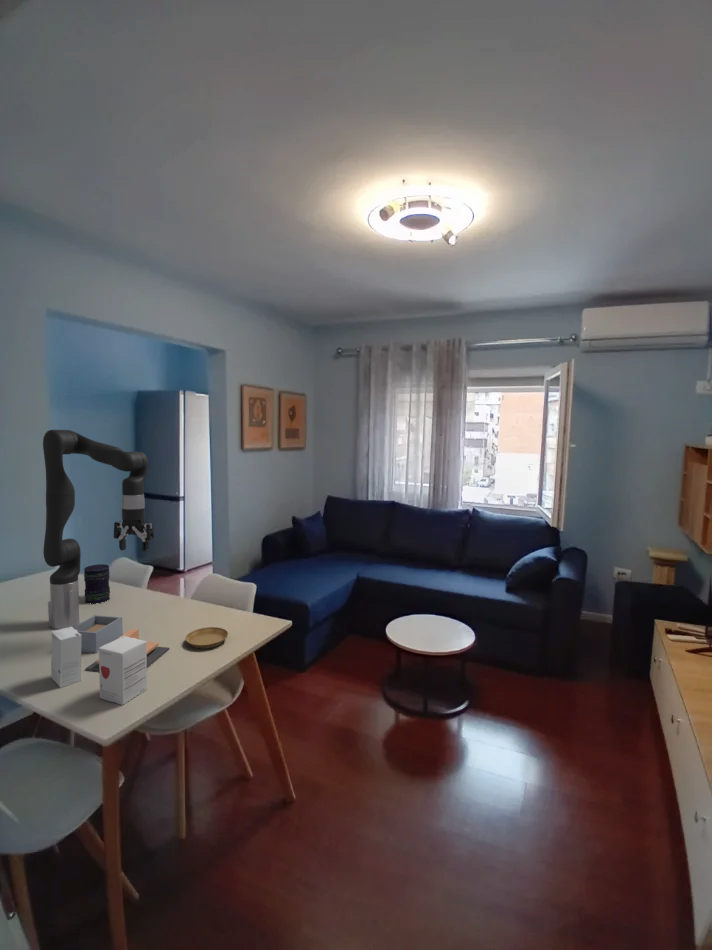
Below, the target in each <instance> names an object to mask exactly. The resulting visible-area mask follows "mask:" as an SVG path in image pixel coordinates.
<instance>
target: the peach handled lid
mask: <svg viewBox="0 0 712 950" xmlns="http://www.w3.org/2000/svg"><path fill="white" fill-rule="evenodd" d="M139 634H140V632H139V629H136V628H135V629H134V628H131V629H129V630H128V631H126V632H125V633H123V635H122V636H126V637H130V638H136V639H139V640H140V638H139V636H140V635H139ZM122 636H120V637H122ZM120 637H119V638H120ZM119 638H118V639H119ZM146 642H147V644H146V650H147V654H148V653H150V652H151V651H152V650H153V649H154V648H156V647H159V642H155V641H154V642H152V641H146ZM96 661H97V663H99V658H98V659H96Z"/></svg>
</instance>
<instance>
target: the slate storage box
mask: <svg viewBox="0 0 712 950" xmlns="http://www.w3.org/2000/svg"><path fill="white" fill-rule="evenodd" d="M73 628H74V629H75V630H77V632H78V633H79V634H81V653H82V652H83V653H90V652H95V653H94V654H97V653H99V652H98V651H99V648H100V647H102V646H103V645H106V644H108V643H110V642H112V641H114V640H116V639H118V638H119V637H120V636H122V635H123V634H124V633H123V632H124V631H123V629H124V628H123V617H122V616H111V615H100V614H99V615H98V614H97V615H96V614H94V615H92V616H90V617H89V618H87V619H86V620H83V621H81V622H79V623H78V624H77V625H75V626H73Z"/></svg>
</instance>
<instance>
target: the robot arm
mask: <svg viewBox="0 0 712 950" xmlns="http://www.w3.org/2000/svg"><path fill="white" fill-rule="evenodd" d="M42 447H43V448H42V449H43V458H44V466H45V468H44V469H45V510H46V511H45V533H44V542H43V551H42V552H43V559H44V562H45V563H46V565H47V566H49V567H53V568H56V567H58V566H59V567H58V569H56V570H55V571H54V572H52V574H51V575H50V576H49V593H50V595H49V596H50V597H49V598H50V601H48V603H47V605H48V606H47V607H48V608H47V613H48V627H50V628H52V629H55V630H60V629H64V628H68V627H74V626H76V625H78V624H79V623H80V596H79V574H80V572H81V553H82V552H81V545H80V544H79V542H78V541H77V540H76V539H74V538H66V539H63V537H64V536H63V535H64V529H65V528H66V527H65V526H66V524H67V523H68V521H69V519H70V517H71V516H72V514H73V512H74V509H75V504H76V490H75V486H74V484H73V483H72V480H71V479H70V477H69V476H68V474H67V473H66V471H65V468H64V458H63V457H64V455H71V454H72V455H73V454H76V455H77V454H78V455H84V456H88V457H89V458H91V459H93V460H94V461H95V462H98V463H101V464H104V465H109V466H111V467H113V468H115V469H116V470H118V471H122V472H126V473H127V472H128V473H129V472H130V473H129V476H128V477H125V478H123V479H122V483H121V488H122V489H121V490H122V492H121V494H122V495H121V520H122V521H121V520H119V521H115V522H113V539H117V540H118V544H119V545H118V547H119V549H120V551H125V550H126V549H127V539H126V538H127V537H128V536H131V535H133V536H137V537H138V538H140V540H141V541H142V542H141V552H142V553H145V552H146V553H147V552H148V550H149V541H151V540H154V538H155V533H154V523H153V522H150V523H146V522H145V518H146V509H145V508H146V504H145V503H146V502H145V488H144V487H145V486H144V485H145V484H144V483H145V479H146V475H147V472H148V467H149V459H148V457H147V455H146V453H144V452H142V451H138V450H137V451H124V450H123V449H121V447H117V446H114V445H111V444H108V443H103V442H99V441H96V440H93V439H90V438H88V437H86V436H84V435H81V434H80V433H78V432H76V431H74V430H73V431H72V430H69V429H49V430H47V431H46V432H45V434H44V435H43V439H42ZM122 528H123V530H122Z"/></svg>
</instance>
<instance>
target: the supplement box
mask: <svg viewBox="0 0 712 950" xmlns="http://www.w3.org/2000/svg"><path fill="white" fill-rule="evenodd" d="M147 642H148V641H146V640H142V639H140V638H139V639H136V638H130V637H126V636H122V637H120V638H119V639H116V640H114V641H112V642H110V643H108V644H106V645H103V646H102V647H100V648H99V652H98V659H99V672H98V673H99V675H98V676H99V699H102V700H105V701H108V702H112V703H114V702H115V704H118V705H120V706H121V705H122V706H124V705H125V704H127V703H128V701H129V702H131V699H132V700H133V699H134V697H135V698H136V697H137V695H138V696H139V695H141V694H142V693H144V692H145V691H147V690H148V685H147V684H148V681H147V679H148V675H147V672H148V668H147V650H146V644H147ZM123 704H124V705H123Z"/></svg>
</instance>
